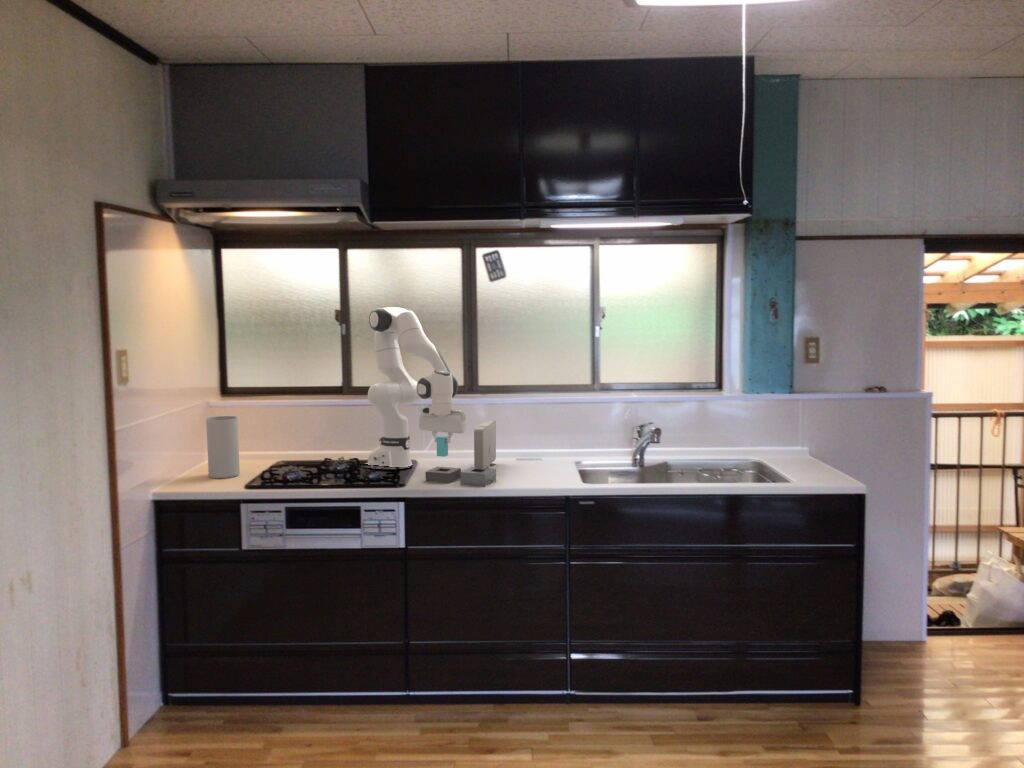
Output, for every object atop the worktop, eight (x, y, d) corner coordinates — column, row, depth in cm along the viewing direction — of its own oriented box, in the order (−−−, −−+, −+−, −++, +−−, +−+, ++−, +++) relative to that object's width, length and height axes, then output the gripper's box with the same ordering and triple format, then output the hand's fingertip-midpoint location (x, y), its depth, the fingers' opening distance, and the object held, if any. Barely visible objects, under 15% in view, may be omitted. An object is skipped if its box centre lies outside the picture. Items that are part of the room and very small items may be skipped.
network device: (488, 475, 329) (487, 429, 327) (468, 474, 330) (467, 428, 328) (500, 463, 354) (500, 420, 352) (482, 462, 355) (481, 419, 353)
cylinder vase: (216, 480, 321) (214, 421, 318) (203, 475, 330) (201, 418, 327) (245, 475, 330) (242, 417, 327) (231, 471, 338) (229, 415, 336)
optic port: (460, 484, 312) (460, 472, 311) (471, 478, 322) (471, 466, 321) (485, 486, 308) (485, 474, 307) (495, 480, 318) (495, 468, 317)
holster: (425, 481, 318) (425, 471, 317) (437, 475, 328) (437, 466, 327) (449, 483, 314) (449, 473, 313) (461, 477, 324) (460, 468, 323)
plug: (436, 456, 319) (436, 437, 318) (440, 454, 322) (440, 435, 321) (444, 456, 318) (444, 437, 317) (448, 455, 321) (448, 436, 320)
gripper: (468, 409, 317) (468, 442, 319) (424, 406, 325) (424, 439, 326) (461, 412, 311) (461, 445, 313) (417, 408, 319) (417, 441, 320)
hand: (442, 442), depth 319 cm, fingers closed on plug, 3 cm apart
